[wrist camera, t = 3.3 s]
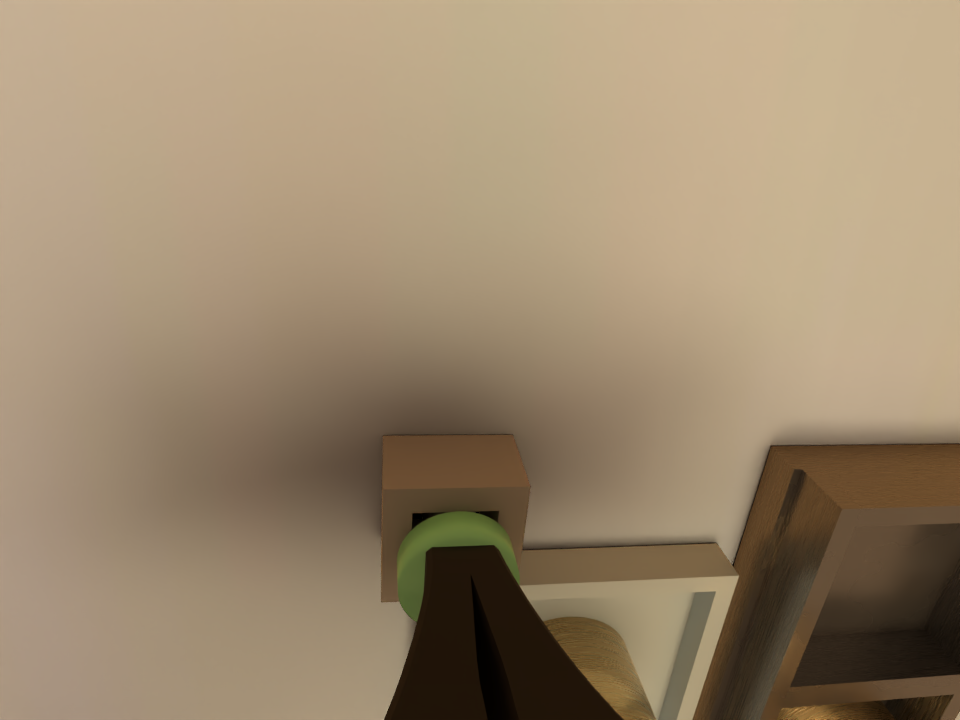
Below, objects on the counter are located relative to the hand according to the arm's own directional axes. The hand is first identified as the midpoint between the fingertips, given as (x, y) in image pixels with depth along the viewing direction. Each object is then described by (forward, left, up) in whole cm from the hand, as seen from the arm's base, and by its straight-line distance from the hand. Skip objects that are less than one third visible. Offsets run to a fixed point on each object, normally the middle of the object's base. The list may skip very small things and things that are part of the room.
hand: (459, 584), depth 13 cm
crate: (+11, -5, -3) cm, 13 cm away
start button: (0, 0, -4) cm, 4 cm away
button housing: (0, 0, -3) cm, 3 cm away
